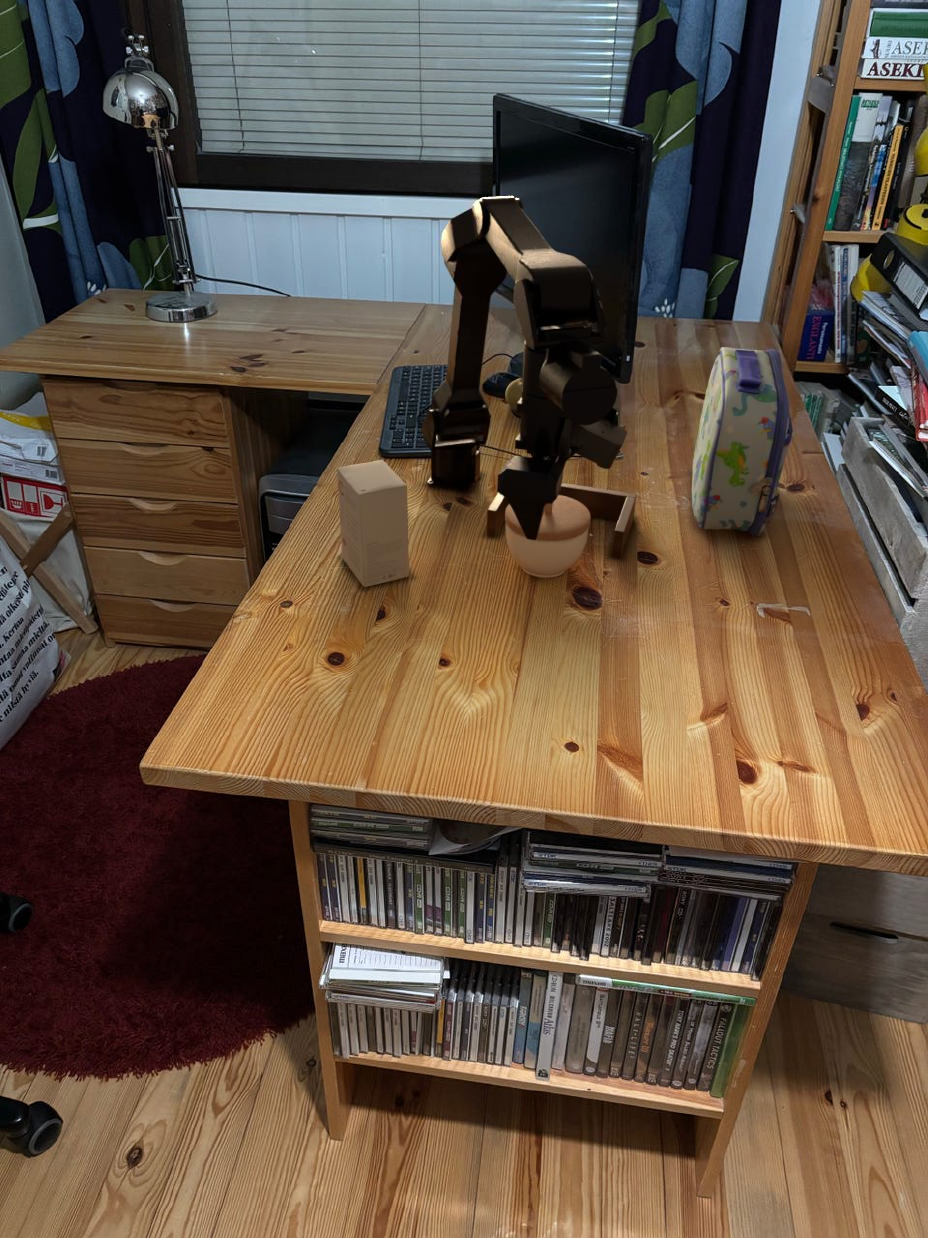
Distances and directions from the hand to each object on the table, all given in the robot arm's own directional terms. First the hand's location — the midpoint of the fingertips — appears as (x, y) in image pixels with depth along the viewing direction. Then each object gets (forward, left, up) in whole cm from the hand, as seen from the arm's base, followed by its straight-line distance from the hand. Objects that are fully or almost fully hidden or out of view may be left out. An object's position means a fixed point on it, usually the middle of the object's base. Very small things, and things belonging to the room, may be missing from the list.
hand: (540, 520), depth 107 cm
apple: (-16, +59, -12) cm, 62 cm away
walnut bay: (-1, +20, -12) cm, 23 cm away
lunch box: (+20, +35, -12) cm, 42 cm away
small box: (-21, +2, -12) cm, 25 cm away
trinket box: (-1, +9, -12) cm, 15 cm away
